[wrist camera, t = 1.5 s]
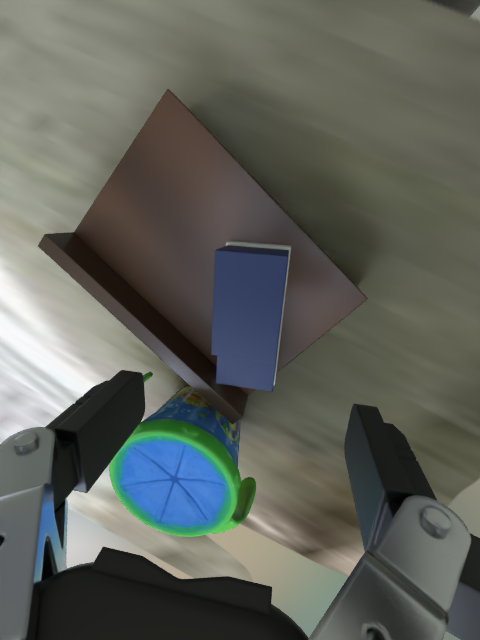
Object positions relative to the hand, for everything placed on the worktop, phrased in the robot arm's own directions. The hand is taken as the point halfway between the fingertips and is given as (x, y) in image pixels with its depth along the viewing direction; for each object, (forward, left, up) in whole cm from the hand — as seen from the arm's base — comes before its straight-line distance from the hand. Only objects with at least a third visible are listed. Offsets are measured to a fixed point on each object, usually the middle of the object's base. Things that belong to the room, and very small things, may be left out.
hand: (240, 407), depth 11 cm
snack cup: (+14, +4, -17) cm, 22 cm away
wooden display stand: (+1, -5, -17) cm, 18 cm away
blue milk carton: (+1, 0, -13) cm, 13 cm away
